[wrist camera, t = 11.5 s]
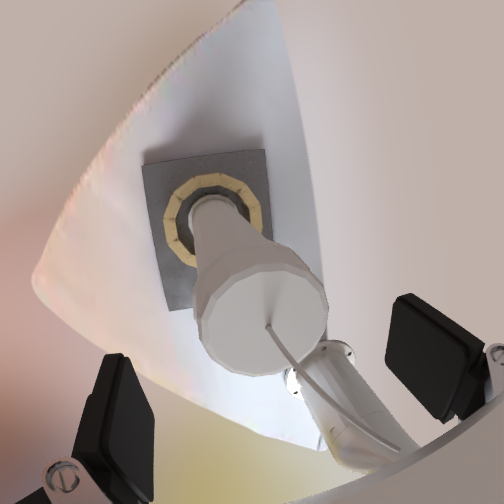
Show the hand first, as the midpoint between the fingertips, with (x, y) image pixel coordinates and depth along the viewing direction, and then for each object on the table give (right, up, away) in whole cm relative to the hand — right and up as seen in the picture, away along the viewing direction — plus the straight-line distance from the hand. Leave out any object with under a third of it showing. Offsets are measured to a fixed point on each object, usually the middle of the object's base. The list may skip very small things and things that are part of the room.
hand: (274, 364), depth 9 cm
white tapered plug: (-5, +8, +25) cm, 26 cm away
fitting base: (-6, +6, +26) cm, 28 cm away
